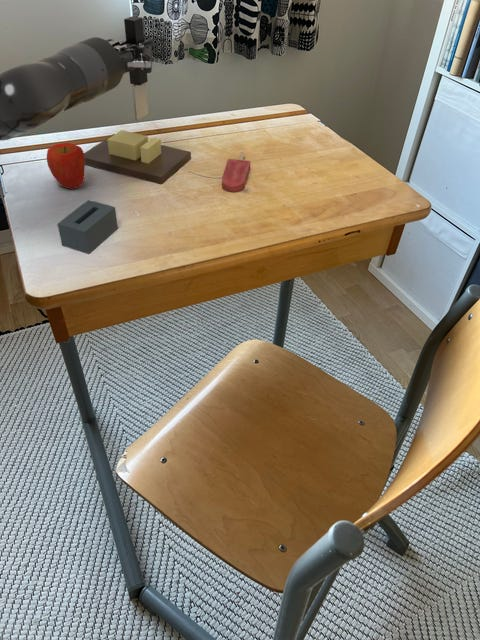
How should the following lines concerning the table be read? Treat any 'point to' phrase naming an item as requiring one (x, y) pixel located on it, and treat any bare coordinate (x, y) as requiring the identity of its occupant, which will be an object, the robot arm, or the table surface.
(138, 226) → the table surface
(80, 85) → the robot arm
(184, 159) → the butter board
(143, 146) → the butter slice
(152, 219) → the table surface
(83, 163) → the apple
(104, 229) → the knife stand
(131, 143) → the butter block
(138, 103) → the knife
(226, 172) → the popsicle
